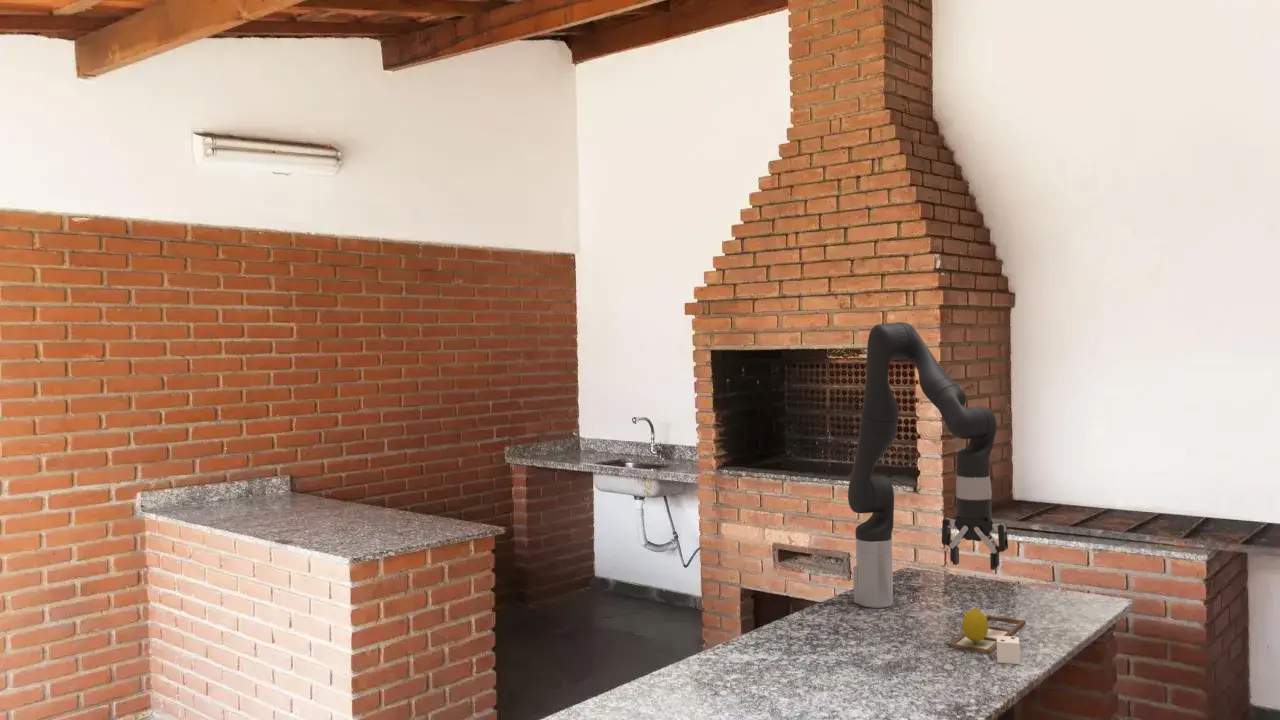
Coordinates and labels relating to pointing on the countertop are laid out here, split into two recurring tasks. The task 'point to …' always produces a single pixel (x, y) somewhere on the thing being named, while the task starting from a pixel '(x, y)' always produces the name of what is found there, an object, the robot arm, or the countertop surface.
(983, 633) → the lemon
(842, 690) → the countertop surface
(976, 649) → the board
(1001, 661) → the die
